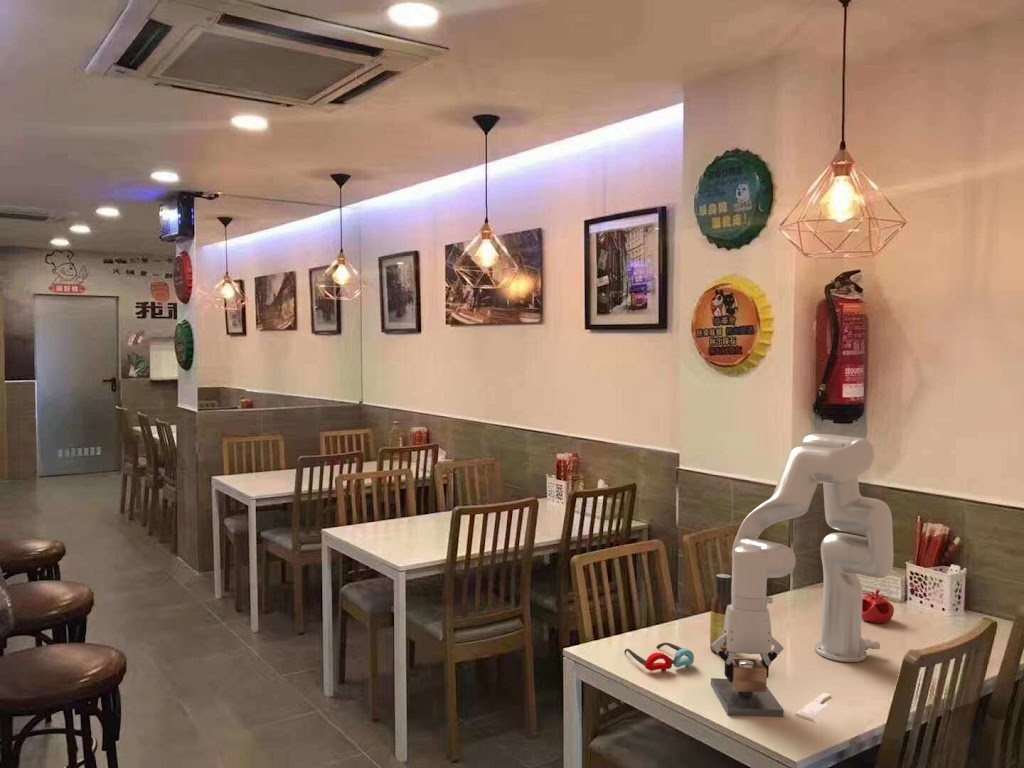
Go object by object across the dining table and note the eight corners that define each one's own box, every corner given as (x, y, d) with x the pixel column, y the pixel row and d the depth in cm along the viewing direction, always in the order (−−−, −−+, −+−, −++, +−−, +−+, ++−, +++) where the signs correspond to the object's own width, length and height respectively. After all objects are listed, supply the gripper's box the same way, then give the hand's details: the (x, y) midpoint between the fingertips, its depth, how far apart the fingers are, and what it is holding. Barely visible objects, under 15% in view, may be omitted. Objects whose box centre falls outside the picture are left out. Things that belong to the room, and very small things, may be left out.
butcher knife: (845, 703, 182) (845, 698, 182) (817, 724, 171) (818, 719, 171) (823, 695, 186) (823, 691, 186) (794, 716, 175) (795, 711, 175)
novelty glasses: (650, 677, 195) (650, 657, 195) (617, 655, 208) (618, 636, 208) (697, 669, 200) (697, 649, 200) (662, 648, 214) (663, 630, 214)
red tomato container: (860, 613, 246) (861, 583, 246) (896, 619, 240) (897, 588, 240) (853, 621, 238) (853, 589, 238) (889, 628, 232) (890, 595, 232)
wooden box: (757, 679, 185) (757, 657, 185) (766, 692, 178) (766, 669, 178) (726, 678, 186) (727, 657, 185) (734, 691, 179) (735, 669, 178)
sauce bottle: (735, 656, 208) (737, 580, 207) (710, 654, 209) (712, 578, 209) (733, 647, 215) (735, 573, 214) (709, 645, 216) (711, 571, 215)
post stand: (761, 685, 190) (762, 650, 190) (783, 716, 174) (784, 677, 174) (710, 684, 190) (711, 648, 190) (727, 715, 174) (728, 676, 174)
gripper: (782, 597, 185) (779, 674, 186) (706, 596, 185) (703, 672, 186) (792, 608, 177) (790, 688, 178) (713, 606, 178) (711, 686, 178)
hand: (746, 679), depth 182 cm, fingers closed on wooden box, 6 cm apart
